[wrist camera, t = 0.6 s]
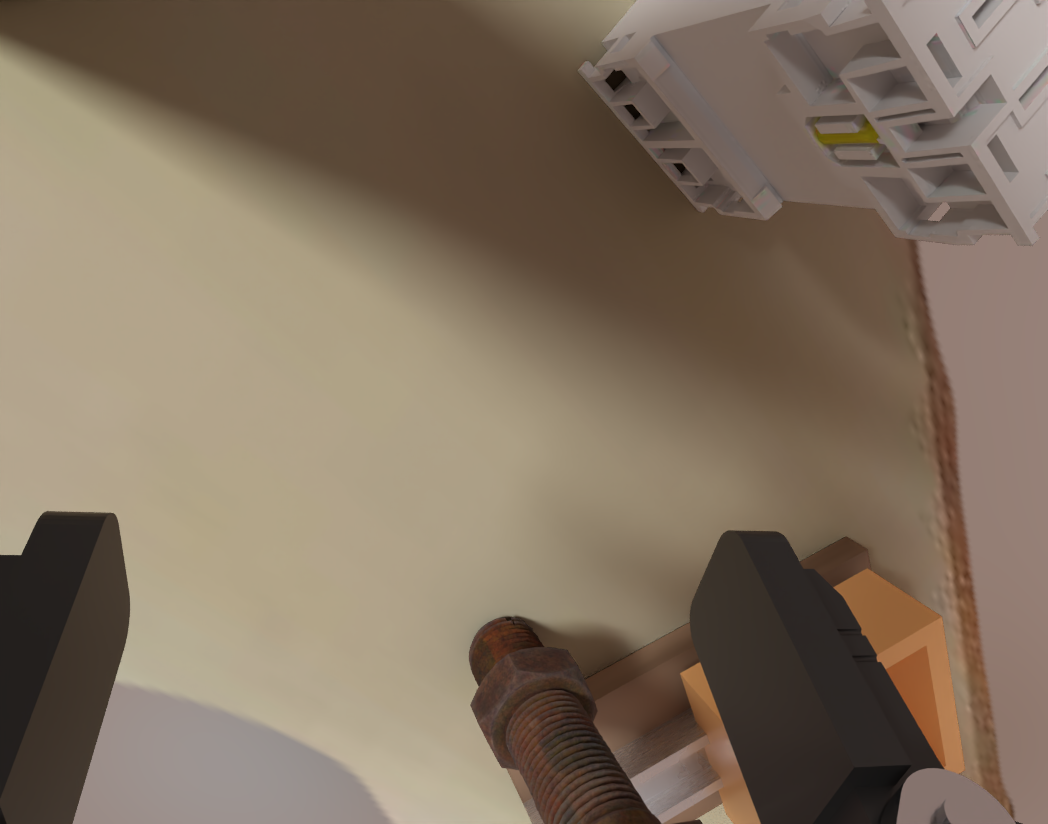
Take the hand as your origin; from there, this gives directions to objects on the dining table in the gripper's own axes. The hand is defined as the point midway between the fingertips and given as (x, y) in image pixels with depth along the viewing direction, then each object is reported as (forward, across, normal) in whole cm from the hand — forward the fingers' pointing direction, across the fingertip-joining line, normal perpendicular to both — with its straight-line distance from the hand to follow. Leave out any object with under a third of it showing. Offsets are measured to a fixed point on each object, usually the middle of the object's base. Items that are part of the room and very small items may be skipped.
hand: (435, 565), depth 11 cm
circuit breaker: (+25, -14, -4) cm, 29 cm away
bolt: (+15, -6, +21) cm, 26 cm away
